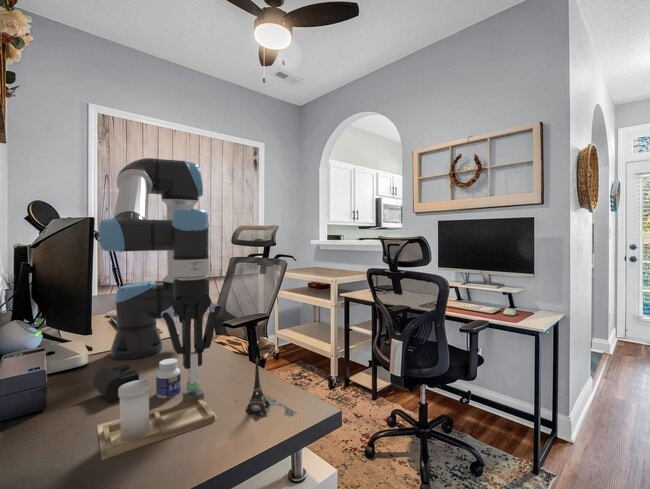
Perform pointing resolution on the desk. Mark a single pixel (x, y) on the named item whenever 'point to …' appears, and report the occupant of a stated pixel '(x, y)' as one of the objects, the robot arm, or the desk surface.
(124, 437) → the seated billet
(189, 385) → the button
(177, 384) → the pill bottle
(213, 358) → the desk surface
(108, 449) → the wooden compartment tray
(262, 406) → the eiffel tower figurine
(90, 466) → the desk surface
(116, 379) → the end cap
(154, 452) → the desk surface
